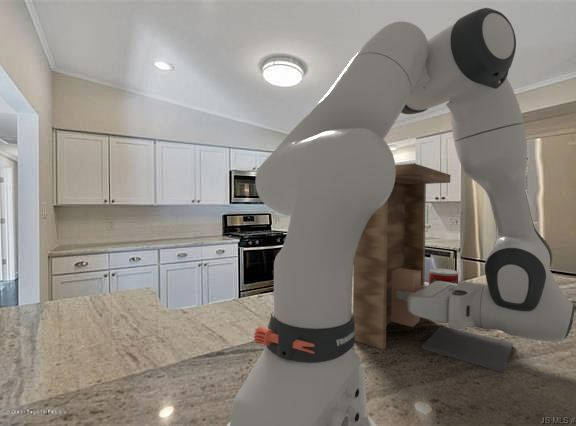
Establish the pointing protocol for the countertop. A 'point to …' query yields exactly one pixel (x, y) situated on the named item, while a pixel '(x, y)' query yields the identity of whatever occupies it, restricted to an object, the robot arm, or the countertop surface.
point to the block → (408, 283)
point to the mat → (470, 348)
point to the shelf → (390, 250)
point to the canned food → (443, 275)
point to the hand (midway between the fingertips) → (402, 291)
